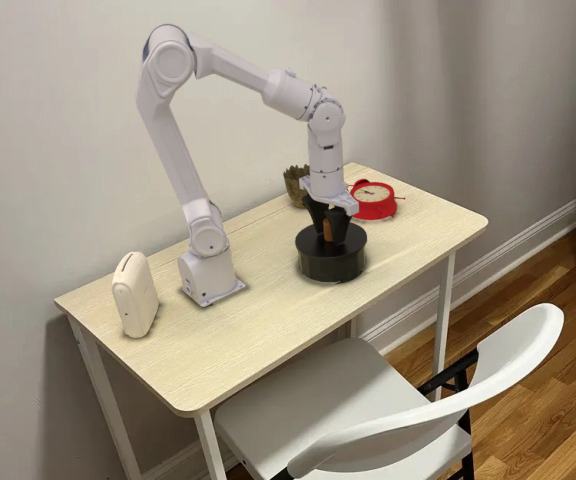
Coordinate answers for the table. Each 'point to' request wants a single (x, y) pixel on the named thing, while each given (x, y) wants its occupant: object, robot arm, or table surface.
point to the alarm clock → (374, 200)
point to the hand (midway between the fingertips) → (330, 236)
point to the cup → (296, 183)
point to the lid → (330, 242)
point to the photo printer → (135, 294)
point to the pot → (333, 268)
